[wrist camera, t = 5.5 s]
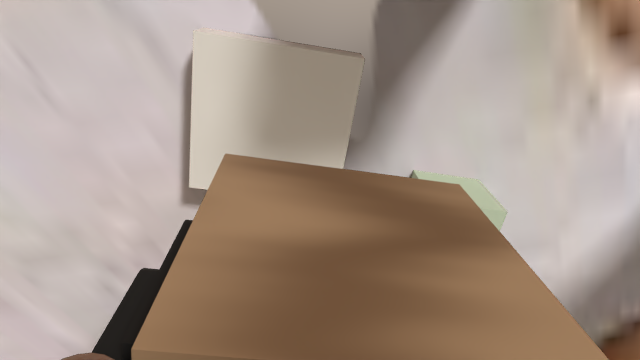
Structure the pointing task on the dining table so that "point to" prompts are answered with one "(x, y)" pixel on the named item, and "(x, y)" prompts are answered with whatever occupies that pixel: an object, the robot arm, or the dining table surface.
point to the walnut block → (350, 275)
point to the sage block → (471, 194)
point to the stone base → (269, 101)
